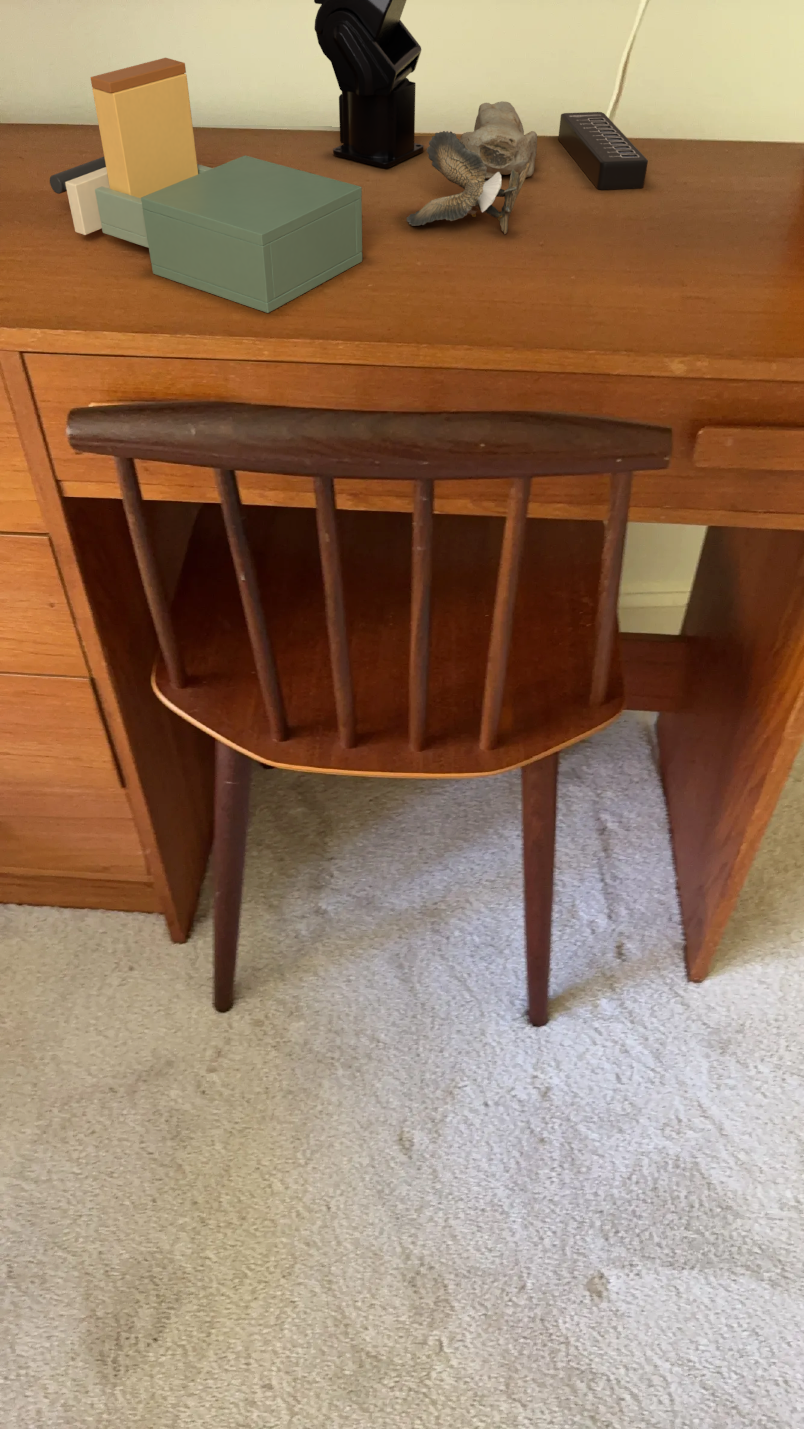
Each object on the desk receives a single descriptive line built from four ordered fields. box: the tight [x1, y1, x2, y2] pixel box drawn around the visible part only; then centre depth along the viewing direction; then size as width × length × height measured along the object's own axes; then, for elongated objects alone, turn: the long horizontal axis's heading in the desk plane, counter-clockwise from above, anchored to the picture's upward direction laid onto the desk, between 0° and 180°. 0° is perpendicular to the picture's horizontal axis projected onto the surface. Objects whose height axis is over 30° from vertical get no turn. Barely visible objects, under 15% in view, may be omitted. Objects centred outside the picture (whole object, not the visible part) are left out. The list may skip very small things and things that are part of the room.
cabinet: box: [141, 155, 363, 314], centre depth 79 cm, size 12×12×6 cm
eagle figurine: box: [406, 130, 530, 235], centre depth 86 cm, size 8×7×9 cm
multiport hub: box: [557, 111, 649, 191], centre depth 98 cm, size 4×14×2 cm, turn 9°
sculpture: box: [459, 100, 538, 180], centre depth 97 cm, size 7×5×15 cm
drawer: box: [49, 156, 214, 249], centre depth 84 cm, size 15×10×4 cm
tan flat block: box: [90, 57, 198, 198], centre depth 80 cm, size 7×2×10 cm, turn 140°
